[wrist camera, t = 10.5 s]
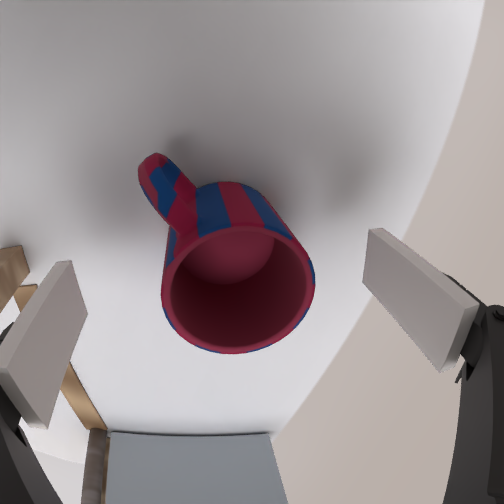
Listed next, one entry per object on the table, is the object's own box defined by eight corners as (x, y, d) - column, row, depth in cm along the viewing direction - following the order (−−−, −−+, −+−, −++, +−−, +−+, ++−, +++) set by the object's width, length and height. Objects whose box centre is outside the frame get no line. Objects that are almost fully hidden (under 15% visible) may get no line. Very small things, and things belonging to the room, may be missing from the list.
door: (115, 444, 27) (111, 550, 16) (111, 431, 26) (104, 545, 15) (264, 445, 31) (291, 546, 19) (268, 433, 30) (299, 540, 18)
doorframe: (-2, 249, 17) (-123, 411, 4) (23, 245, 17) (-101, 423, 4) (108, 456, 29) (104, 570, 15) (127, 457, 29) (127, 573, 16)
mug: (204, 298, 21) (212, 373, 15) (118, 170, 17) (81, 207, 11) (293, 252, 21) (334, 313, 15) (221, 110, 16) (239, 112, 10)
